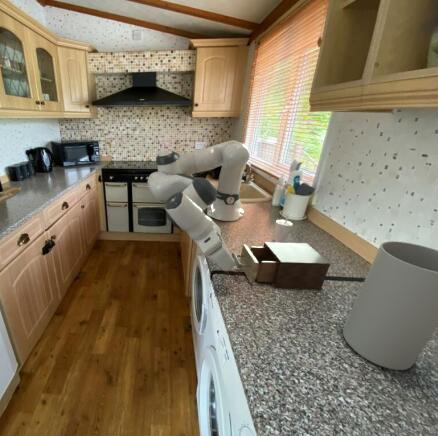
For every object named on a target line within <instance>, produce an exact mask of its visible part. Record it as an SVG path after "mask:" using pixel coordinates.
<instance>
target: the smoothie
mask: <svg viewBox="0 0 438 436" xmlns="http://www.w3.org/2000/svg"><path fill="white" fill-rule="evenodd" d="M289 215H290V212H287V213H286V217H285V219H276V220H275V223H274V224H275V229H274V230H275V231H274V241H273V242H276V243H286V240H287V238H288V236H289V234H290V231H291V229H292V228H293V226H294V224H293V222H292V221H289V220H288V219H289Z"/></svg>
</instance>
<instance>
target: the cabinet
mask: <svg viewBox="0 0 438 436" xmlns="http://www.w3.org/2000/svg"><path fill="white" fill-rule="evenodd" d="M262 247H267V248H268V249H269V251H270V252H271V253H272V254H273V255H274V257H275V258H276V259H277V260H278V261H279V263H280V264H279V267H278V271H277V275H276V279H275V282H270V283H271V285H272V286H273V288H275V289H277V288H278V289H302V290H303V289H305V290H307V289H308V290H322V288H323V285H324V283H325V280H326V277H327V274H328V272H329V269H330V266H331V262H329V261H328V260H327V259H326V258H325V257H323V256H322V255H321V254H320V253H319V252H317V250H315V249H314V248H313V247H312V246H311V245H309V243H306V242H285V243H276V242H274V241H272V242H271V241H270V242H269V241H264V243H263V246H262Z"/></svg>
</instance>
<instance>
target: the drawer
mask: <svg viewBox="0 0 438 436" xmlns="http://www.w3.org/2000/svg"><path fill="white" fill-rule="evenodd" d="M230 254H231V255H232V256H233V258H234V260H235V263H236V265H235V266H236V268H237V269H242V270H243V272H244V274H245V276H246V278H247V279H248V281H249V283H250V284H255V282H256V280H257V282H262V283H265V282H266V283H271V282H275V279H276V275H277V271H278V267H279V264H280V263H279V261H278V260H277V259H276V258H275V257H274V255H273V254H272V253H271V252H270V251H269V249H268V248H267V247H263V246H255V245H254V246H253V245H251V246H250V248H249V246H248V245H247V244H243V245H242V248H241V254H237V253H235V252H232V253H230ZM239 258H240V259H239Z"/></svg>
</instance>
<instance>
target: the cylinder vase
mask: <svg viewBox="0 0 438 436" xmlns="http://www.w3.org/2000/svg"><path fill="white" fill-rule="evenodd" d="M437 328H438V249H435V248H431V247H427V246H425V245H421V244H416V243H412V242H405V241H394V240H390V241H383V242H382V243H380V245H379V247H378V249H377V252H376V254H375V256H374V259H373V261H372V263H371V265H370V267H369V270H368V271H367V274H366V276H365V278H364V280H363V283H362V285H361V288H360V290H359V292H358V294H357V296H356V299H355V301H354V303H353V305H352V307H351V310H350V312H349V314H348V316H347V319H346V321H345V323H344V326H343V328H342V336H343V338H344V339H345V341H346V343H347V344H348V345H349V346H350V348H352V349H353V350H354V351H355V352H356V353H357V354H358V355H359V356H361V357H363V358H364V359H366V360H367V361H369V362H371V363H373V364H374V365H377V366H379V367H383V368H386V369H390V370H393V371H405V370H408V369H410V368H411V367H412V366H413V365H414V363H415V362H416V360H417V359H418V358H419V356H420V355H421V353H422V351H423V350H424V348H425V347H426V345H427V343H428V342H429V340H430V338H431V337H432V336H433V335H434V333H435V331H436V329H437Z"/></svg>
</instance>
